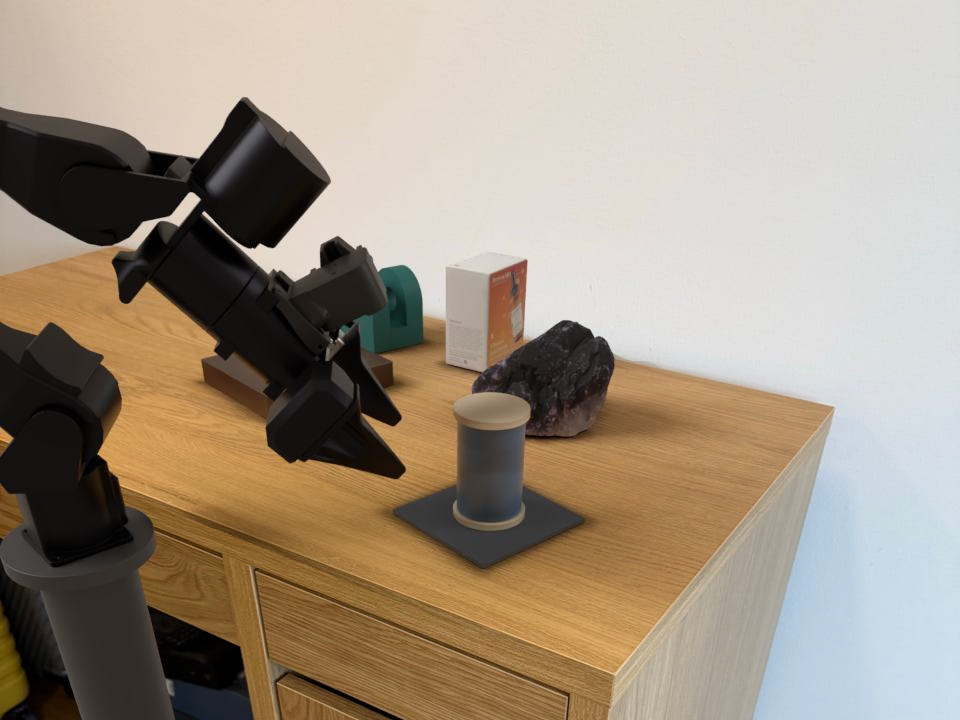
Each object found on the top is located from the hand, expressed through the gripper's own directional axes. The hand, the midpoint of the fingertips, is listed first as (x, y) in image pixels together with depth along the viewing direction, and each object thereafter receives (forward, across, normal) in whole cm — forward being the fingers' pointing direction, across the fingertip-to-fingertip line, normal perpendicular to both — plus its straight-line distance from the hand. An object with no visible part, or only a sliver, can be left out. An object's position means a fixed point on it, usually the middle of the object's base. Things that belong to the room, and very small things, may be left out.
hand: (400, 446), depth 69 cm
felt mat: (+9, 0, 0) cm, 9 cm away
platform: (-2, +30, +12) cm, 32 cm away
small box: (+12, +36, -3) cm, 38 cm away
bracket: (+2, +48, +7) cm, 48 cm away
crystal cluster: (+15, +20, -6) cm, 26 cm away
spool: (+9, 0, -1) cm, 9 cm away
